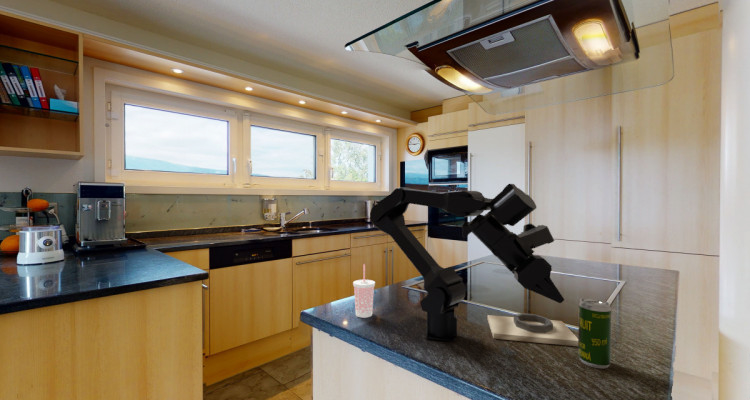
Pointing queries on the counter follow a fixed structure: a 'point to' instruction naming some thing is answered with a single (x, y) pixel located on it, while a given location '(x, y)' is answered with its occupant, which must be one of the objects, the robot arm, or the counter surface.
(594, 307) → the beer can
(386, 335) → the counter surface
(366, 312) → the beverage cup
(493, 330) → the board with grey ring
